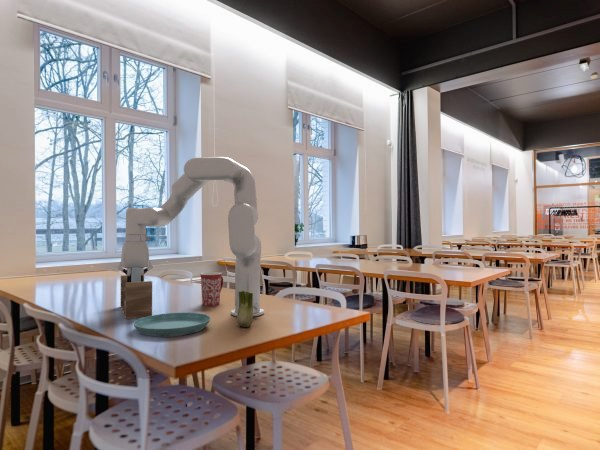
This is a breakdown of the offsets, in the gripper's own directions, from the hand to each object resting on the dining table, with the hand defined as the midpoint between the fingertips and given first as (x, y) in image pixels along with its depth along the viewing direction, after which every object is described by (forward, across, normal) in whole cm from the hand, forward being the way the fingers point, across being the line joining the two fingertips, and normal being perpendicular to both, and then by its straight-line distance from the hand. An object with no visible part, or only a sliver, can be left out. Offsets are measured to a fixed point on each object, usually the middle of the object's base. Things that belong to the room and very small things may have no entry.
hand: (134, 285), depth 162 cm
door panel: (+3, 0, 0) cm, 3 cm away
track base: (+10, 0, 0) cm, 10 cm away
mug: (+10, -32, -2) cm, 34 cm away
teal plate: (+11, -8, +35) cm, 38 cm away
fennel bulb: (+10, -30, +43) cm, 54 cm away
